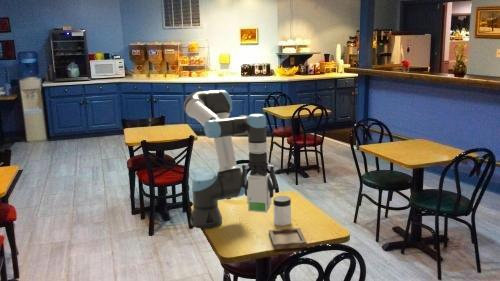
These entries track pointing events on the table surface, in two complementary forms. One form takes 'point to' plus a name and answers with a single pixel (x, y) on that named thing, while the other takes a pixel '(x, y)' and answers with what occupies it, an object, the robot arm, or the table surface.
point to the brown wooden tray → (287, 238)
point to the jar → (282, 210)
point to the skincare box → (258, 193)
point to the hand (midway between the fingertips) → (259, 203)
